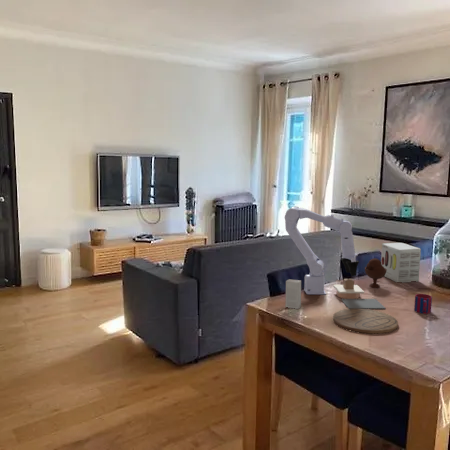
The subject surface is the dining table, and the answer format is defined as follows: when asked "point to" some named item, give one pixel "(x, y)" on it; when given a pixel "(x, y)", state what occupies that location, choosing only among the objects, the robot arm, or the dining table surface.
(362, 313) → the trivet
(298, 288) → the skincare box
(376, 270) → the ice cream bowl
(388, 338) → the dining table surface
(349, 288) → the cover
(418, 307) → the mug
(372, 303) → the mat
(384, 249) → the supplement box
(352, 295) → the bowl
